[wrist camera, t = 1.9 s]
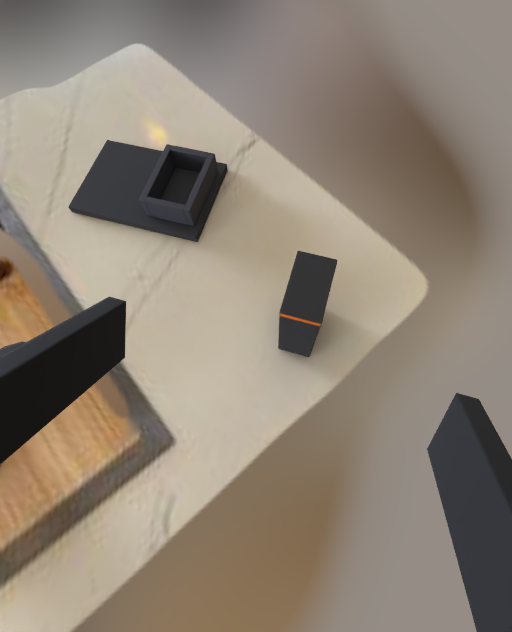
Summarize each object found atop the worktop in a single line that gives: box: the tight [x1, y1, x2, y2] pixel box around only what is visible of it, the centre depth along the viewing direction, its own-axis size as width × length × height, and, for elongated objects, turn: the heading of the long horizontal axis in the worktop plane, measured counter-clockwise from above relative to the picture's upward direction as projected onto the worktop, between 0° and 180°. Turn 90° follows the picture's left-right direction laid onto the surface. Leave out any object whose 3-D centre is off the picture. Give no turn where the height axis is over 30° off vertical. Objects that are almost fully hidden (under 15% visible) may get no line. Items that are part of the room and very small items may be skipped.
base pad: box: [69, 140, 227, 242], centre depth 46 cm, size 18×12×4 cm, turn 73°
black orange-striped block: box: [278, 251, 337, 357], centre depth 35 cm, size 4×6×11 cm, turn 163°
